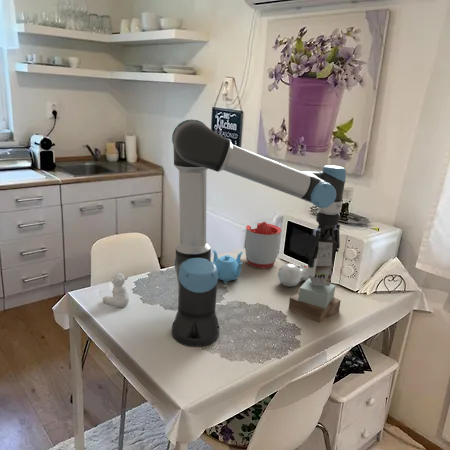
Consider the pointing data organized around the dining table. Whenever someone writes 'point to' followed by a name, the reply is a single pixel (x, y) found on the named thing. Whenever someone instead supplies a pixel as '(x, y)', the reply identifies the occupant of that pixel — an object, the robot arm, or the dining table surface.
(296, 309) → the tower base
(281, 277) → the potion bottle
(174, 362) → the dining table surface
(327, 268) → the coffee box
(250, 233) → the citrus juicer
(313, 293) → the tower top
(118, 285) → the sitting furry creature
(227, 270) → the teapot
